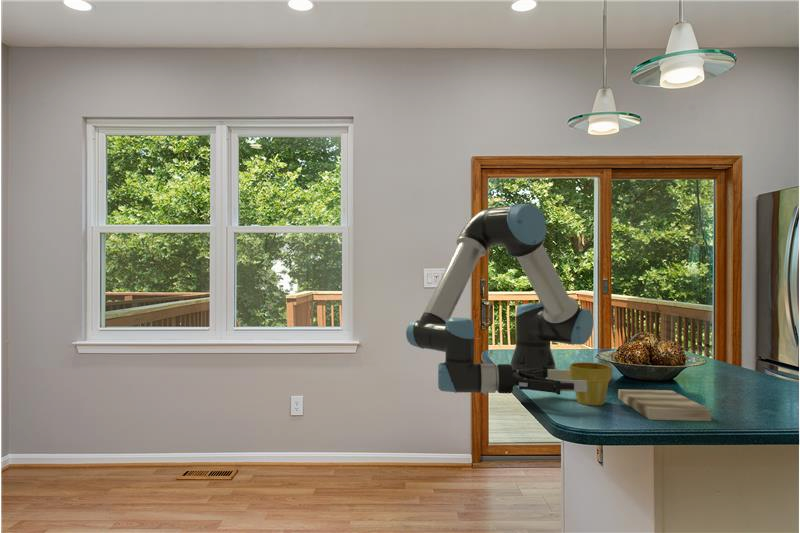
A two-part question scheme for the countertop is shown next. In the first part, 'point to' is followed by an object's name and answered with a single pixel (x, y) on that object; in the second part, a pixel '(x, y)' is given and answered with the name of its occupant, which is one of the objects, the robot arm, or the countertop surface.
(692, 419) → the birch stand
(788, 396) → the countertop surface
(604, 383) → the plant pot
